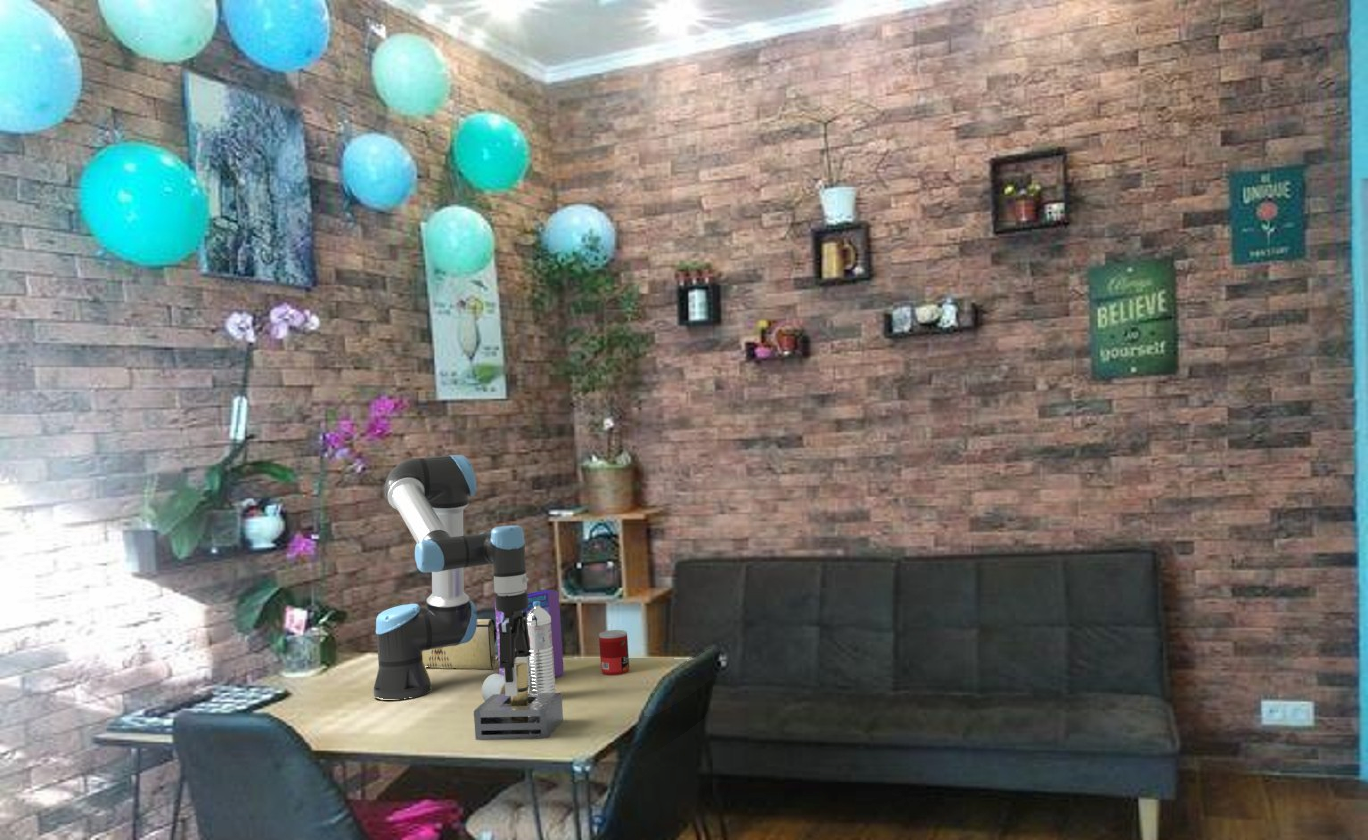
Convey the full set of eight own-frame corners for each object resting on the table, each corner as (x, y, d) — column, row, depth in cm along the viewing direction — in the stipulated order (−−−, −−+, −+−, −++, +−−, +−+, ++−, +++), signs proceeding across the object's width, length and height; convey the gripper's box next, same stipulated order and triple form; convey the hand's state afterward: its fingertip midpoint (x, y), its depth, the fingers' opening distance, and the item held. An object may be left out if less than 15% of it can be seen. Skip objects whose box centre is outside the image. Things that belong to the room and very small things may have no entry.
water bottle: (550, 701, 246) (544, 604, 246) (525, 702, 248) (519, 604, 248) (559, 694, 253) (553, 598, 253) (535, 694, 255) (528, 599, 255)
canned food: (628, 674, 268) (625, 634, 268) (599, 676, 268) (597, 636, 268) (630, 667, 276) (627, 628, 276) (602, 669, 276) (600, 630, 276)
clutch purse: (508, 664, 289) (505, 614, 289) (497, 671, 282) (493, 619, 282) (421, 663, 298) (418, 615, 298) (408, 669, 291) (405, 620, 291)
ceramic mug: (501, 711, 241) (500, 681, 241) (481, 707, 246) (480, 676, 246) (534, 701, 249) (533, 671, 249) (514, 697, 254) (513, 667, 254)
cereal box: (508, 689, 261) (502, 600, 261) (500, 686, 265) (494, 598, 265) (564, 675, 272) (558, 590, 272) (555, 672, 276) (549, 588, 276)
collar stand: (475, 739, 220) (473, 710, 220) (494, 721, 233) (493, 694, 233) (547, 737, 218) (545, 709, 218) (563, 719, 231) (561, 692, 231)
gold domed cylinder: (508, 727, 224) (507, 666, 224) (514, 721, 228) (512, 662, 228) (525, 727, 223) (524, 666, 223) (530, 722, 227) (529, 662, 227)
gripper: (512, 600, 215) (519, 702, 215) (539, 583, 235) (546, 677, 235) (480, 602, 216) (486, 703, 216) (510, 585, 236) (516, 677, 236)
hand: (517, 689), depth 225 cm, fingers open, 8 cm apart
